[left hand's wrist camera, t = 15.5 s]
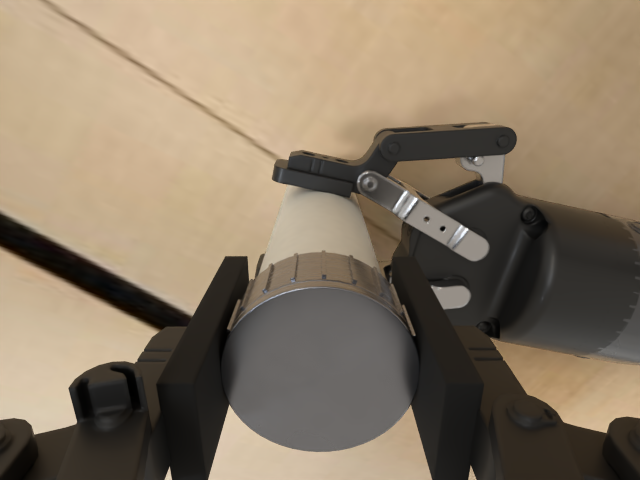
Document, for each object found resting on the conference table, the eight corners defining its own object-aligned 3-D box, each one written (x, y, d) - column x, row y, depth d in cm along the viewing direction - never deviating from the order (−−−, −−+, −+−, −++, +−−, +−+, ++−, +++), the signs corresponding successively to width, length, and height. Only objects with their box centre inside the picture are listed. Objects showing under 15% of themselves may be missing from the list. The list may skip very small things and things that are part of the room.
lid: (442, 304, 12) (466, 349, 10) (344, 421, 14) (349, 481, 12) (290, 214, 11) (283, 244, 9) (203, 352, 13) (182, 403, 11)
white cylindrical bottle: (324, 243, 28) (330, 450, 12) (271, 201, 27) (202, 369, 11) (369, 193, 27) (439, 350, 11) (315, 147, 26) (307, 249, 10)
